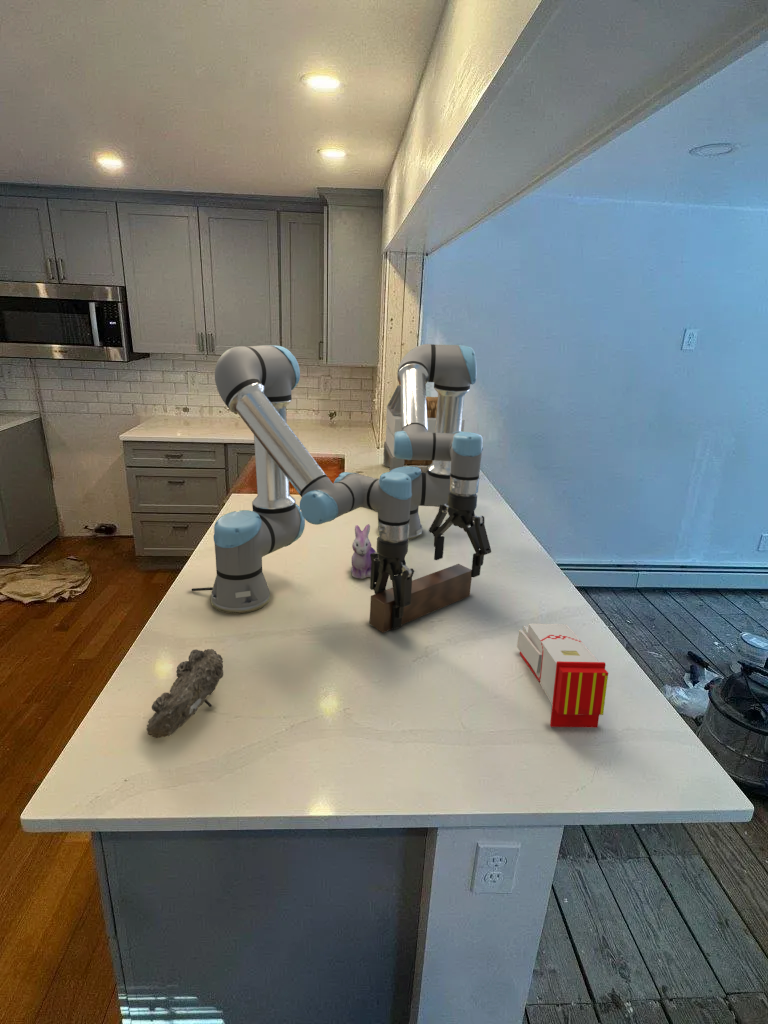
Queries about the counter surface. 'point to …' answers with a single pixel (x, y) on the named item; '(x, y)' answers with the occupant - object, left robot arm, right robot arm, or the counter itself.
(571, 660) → the toy
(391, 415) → the transformer
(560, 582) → the counter surface
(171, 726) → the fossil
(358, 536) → the figurine
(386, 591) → the plank
